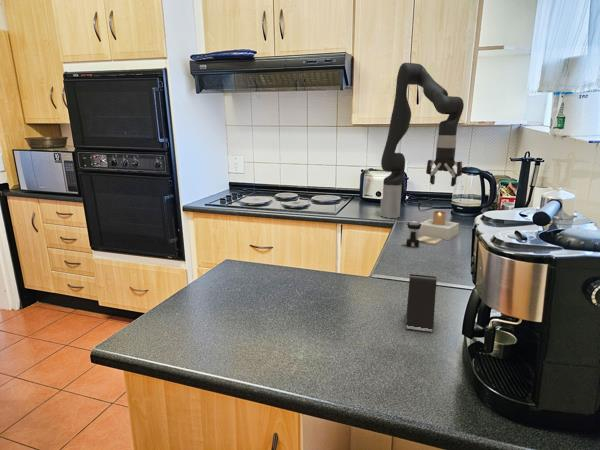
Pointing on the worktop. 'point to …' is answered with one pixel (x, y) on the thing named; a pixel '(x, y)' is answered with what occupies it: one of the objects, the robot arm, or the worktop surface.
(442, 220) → the amber cylinder
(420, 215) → the worktop surface
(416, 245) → the black stand
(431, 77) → the robot arm
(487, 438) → the worktop surface
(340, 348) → the worktop surface
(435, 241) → the pad
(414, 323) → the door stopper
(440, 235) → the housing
